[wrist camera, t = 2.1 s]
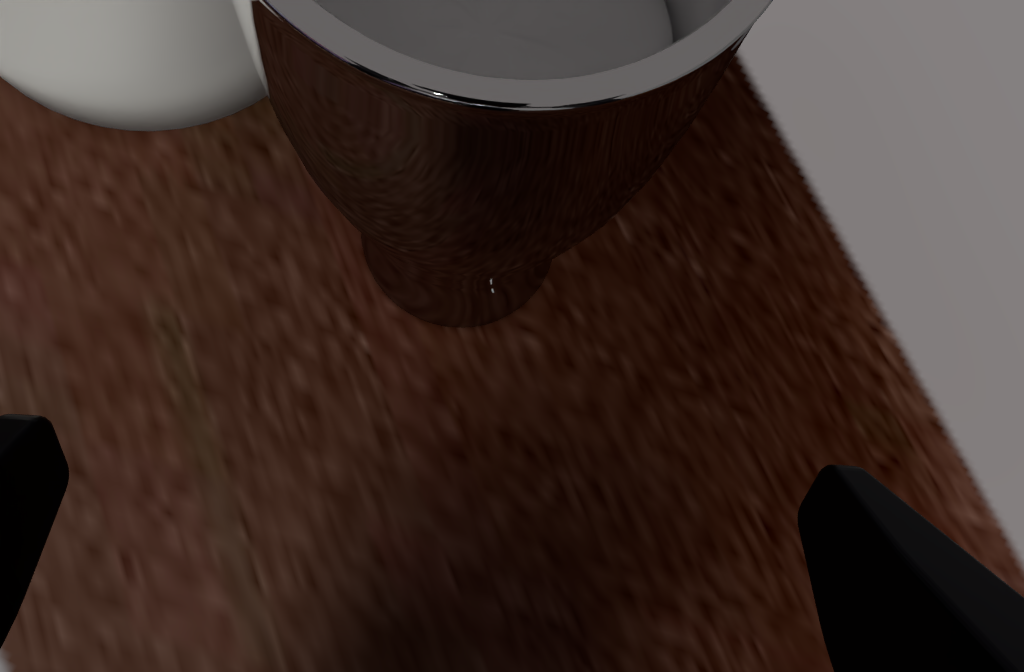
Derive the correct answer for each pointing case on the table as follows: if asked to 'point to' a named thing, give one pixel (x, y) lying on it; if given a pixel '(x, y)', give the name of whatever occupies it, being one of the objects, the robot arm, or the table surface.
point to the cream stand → (129, 60)
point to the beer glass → (485, 125)
